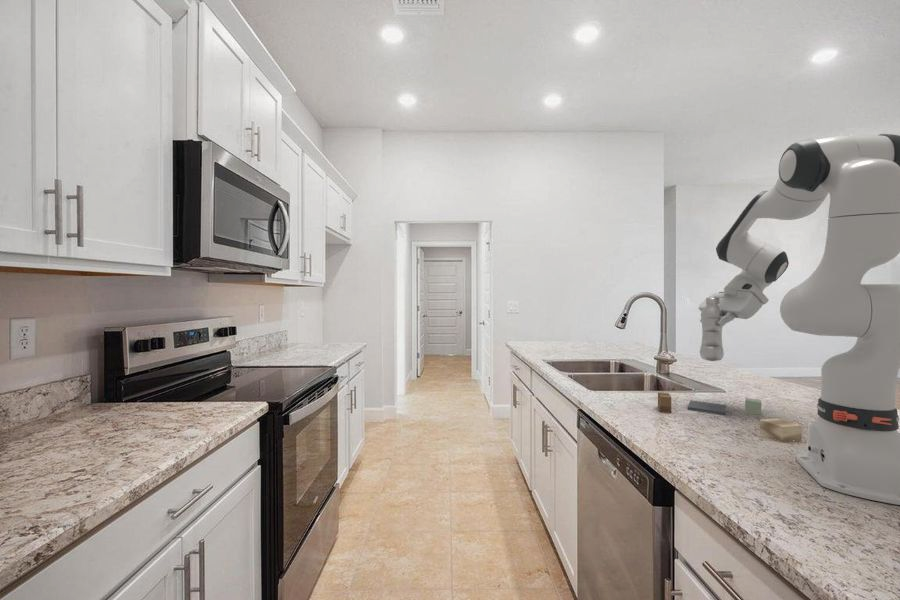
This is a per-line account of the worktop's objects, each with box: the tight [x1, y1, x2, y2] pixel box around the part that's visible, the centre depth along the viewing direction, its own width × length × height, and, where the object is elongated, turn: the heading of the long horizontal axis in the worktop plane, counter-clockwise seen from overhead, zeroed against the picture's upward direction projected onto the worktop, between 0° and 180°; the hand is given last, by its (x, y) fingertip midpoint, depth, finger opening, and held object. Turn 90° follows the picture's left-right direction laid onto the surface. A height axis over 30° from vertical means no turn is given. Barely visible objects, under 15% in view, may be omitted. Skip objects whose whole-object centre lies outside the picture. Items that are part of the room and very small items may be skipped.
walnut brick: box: [657, 391, 672, 414], centre depth 131 cm, size 6×3×5 cm, turn 161°
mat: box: [687, 400, 727, 416], centre depth 133 cm, size 10×10×1 cm
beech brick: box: [759, 417, 803, 443], centre depth 107 cm, size 6×6×4 cm
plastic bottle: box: [699, 297, 725, 362], centre depth 132 cm, size 6×7×20 cm
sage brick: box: [744, 397, 763, 416], centre depth 129 cm, size 4×4×4 cm
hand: (710, 323), depth 132 cm, fingers closed on plastic bottle, 6 cm apart
